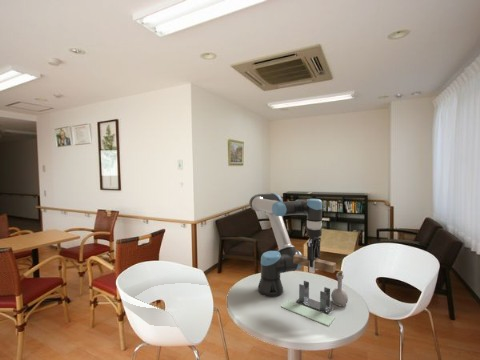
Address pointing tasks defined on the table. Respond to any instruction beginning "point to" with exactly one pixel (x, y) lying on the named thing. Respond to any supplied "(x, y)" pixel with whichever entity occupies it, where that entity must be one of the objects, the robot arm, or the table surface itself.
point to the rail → (319, 263)
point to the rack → (320, 306)
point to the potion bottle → (339, 292)
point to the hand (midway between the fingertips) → (313, 270)
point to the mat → (308, 312)
